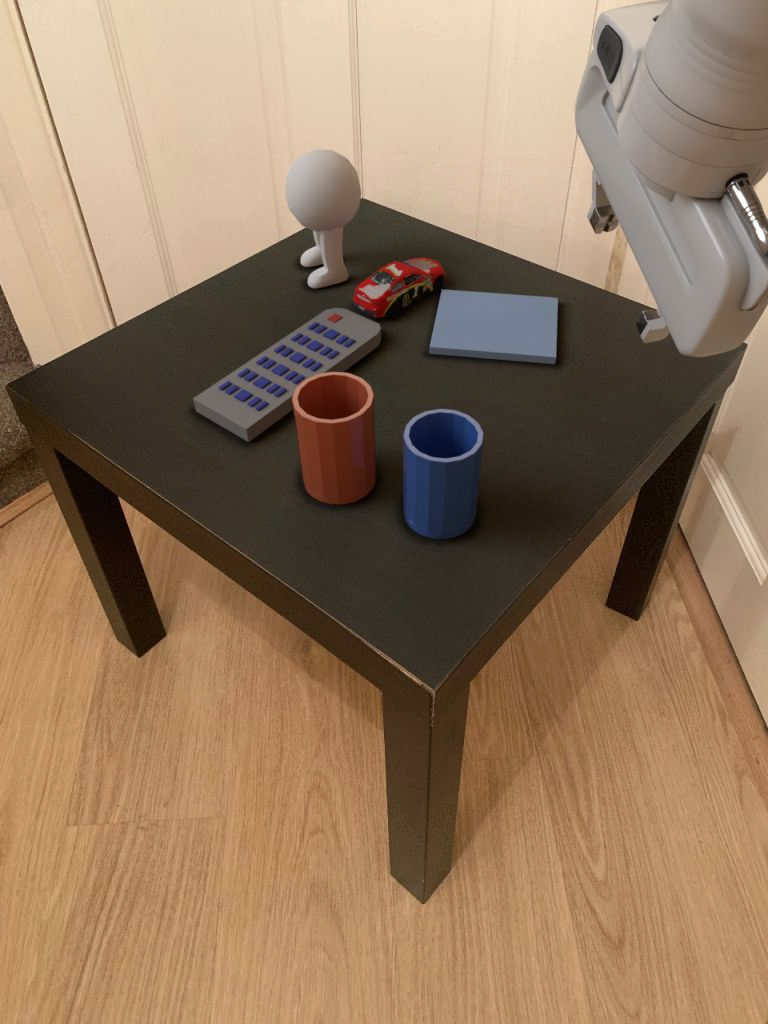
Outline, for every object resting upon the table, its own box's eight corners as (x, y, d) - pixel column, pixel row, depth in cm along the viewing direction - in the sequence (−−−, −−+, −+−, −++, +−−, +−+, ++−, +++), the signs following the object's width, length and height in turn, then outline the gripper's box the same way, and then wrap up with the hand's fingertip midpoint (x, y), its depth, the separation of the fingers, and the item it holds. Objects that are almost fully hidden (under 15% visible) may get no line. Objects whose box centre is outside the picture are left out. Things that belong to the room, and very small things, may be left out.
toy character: (288, 258, 104) (275, 141, 93) (355, 248, 106) (350, 132, 95) (300, 294, 98) (287, 174, 87) (371, 283, 100) (367, 164, 89)
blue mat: (557, 304, 96) (558, 297, 95) (555, 364, 88) (556, 357, 87) (441, 296, 97) (441, 289, 97) (429, 354, 89) (429, 346, 89)
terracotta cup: (381, 457, 78) (379, 375, 71) (369, 508, 73) (365, 426, 66) (312, 450, 79) (303, 368, 71) (295, 500, 74) (283, 418, 67)
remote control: (196, 412, 83) (191, 396, 82) (337, 315, 95) (336, 299, 93) (248, 443, 80) (245, 427, 78) (389, 338, 91) (388, 322, 90)
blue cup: (478, 490, 75) (486, 412, 68) (472, 543, 70) (479, 465, 63) (409, 483, 75) (409, 405, 68) (398, 534, 71) (398, 457, 64)
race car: (422, 268, 102) (422, 239, 99) (453, 283, 99) (454, 254, 96) (346, 308, 96) (344, 278, 93) (376, 326, 93) (376, 296, 90)
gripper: (848, 254, 39) (725, 394, 52) (687, -21, 46) (614, 162, 59) (733, 278, 39) (637, 414, 51) (587, -6, 46) (535, 176, 59)
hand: (624, 277), depth 55 cm, fingers open, 8 cm apart
